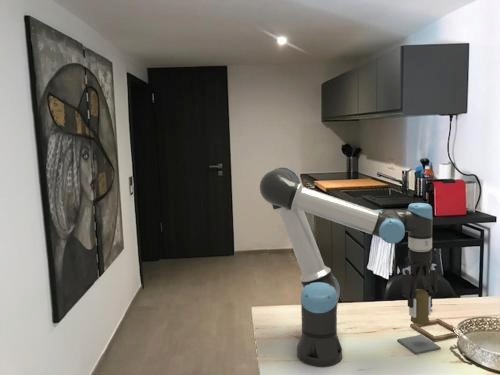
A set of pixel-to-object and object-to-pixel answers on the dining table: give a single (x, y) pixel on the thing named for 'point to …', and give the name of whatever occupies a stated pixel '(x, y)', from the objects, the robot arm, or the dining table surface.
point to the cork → (421, 307)
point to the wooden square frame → (430, 336)
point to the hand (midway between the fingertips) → (419, 314)
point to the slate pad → (418, 344)
